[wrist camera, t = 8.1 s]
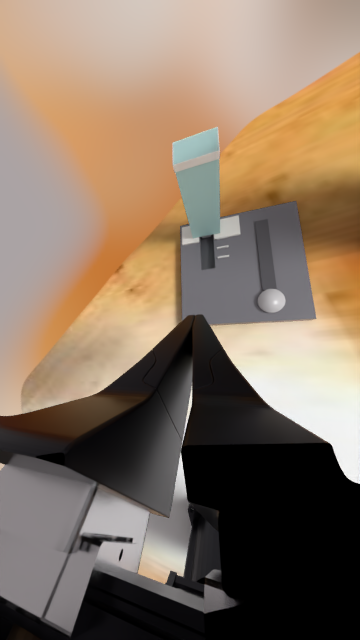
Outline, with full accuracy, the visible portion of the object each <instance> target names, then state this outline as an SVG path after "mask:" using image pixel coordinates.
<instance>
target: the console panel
mask: <svg viewBox="0 0 360 640" xmlns="http://www.w3.org/2000/svg"><path fill="white" fill-rule="evenodd" d="M180 236H181V285H182V321H183V320H184V319H185V318H186V317H187V316H188V315H195V316H196V315H198V314H203V315H204V317H205V319H206V320H207V322H208V324H209V325H226V324H245V323H264V322H284V321H303V320H313V319H316V314H315V308H314V302H313V297H312V291H311V285H310V279H309V273H308V267H307V261H306V256H305V250H304V244H303V238H302V232H301V226H300V220H299V215H298V209H297V203H296V201H293V202H289V203H284V204H279V205H275V206H270V207H266V208H261V209H256V210H252V211H247V212H243V213H238V214H233V215H229V216H224V217H220V233H217V234H212V235H211V237H208V238H202V237H197V238H193V236H192V233H191V229H190V225H189V224H187V225H183V226H180Z"/></svg>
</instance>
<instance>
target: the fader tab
mask: <svg viewBox="0 0 360 640" xmlns="http://www.w3.org/2000/svg"><path fill="white" fill-rule="evenodd" d="M219 159H220V149H219V135H218V127H215V128H212V129H209V130H207V131H204V132H201V133H198V134H196V135H193V136H190V137H187V138H184V139H182V140H179V141H176V142H173V168H174V172H175V173H176V176H177V180H178V184H179V188H180V192H181V195H182V199H183V203H184V207H185V210H186V214H187V218H188V222H189V225H190V229H191V233H192V236H193V238H197V237H202V238H208V237H211V235H212V234H217V233H220V182H219Z"/></svg>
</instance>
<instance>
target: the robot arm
mask: <svg viewBox="0 0 360 640" xmlns="http://www.w3.org/2000/svg"><path fill="white" fill-rule="evenodd" d="M152 350H153V351H152ZM152 350H151V351H150V352H149V353H148V354H147V355H146V356H144V357H143V358H142V359H141V360H140V361H139V362H138V363H136V364H135V365H134V366H133V367H132V368H130V369H129V370H128V371H127V372H125V373H124V374H123V375H122V376H120V377H119V378H118V379H117V380H115V381H114V382H113V383H112V384H110V385H109V386H108V387H106V388H105V389H104V390H102V391H100V392H99V393H97V394H94V395H92V396H89V397H85V398H82V399H78V400H74V401H70V402H67V403H63V404H59V405H55V406H52V407H48V408H44V409H40V410H37V411H33V412H29V413H24V414H19V415H14V416H0V463H2V464H5V466H4V467H3V468H2V470H1V471H0V640H360V484H358V483H355V482H353V481H351V480H349V479H348V478H347V477H346V476H345V475H344V473H343V471H342V470H341V468H340V466H339V464H338V461H337V459H336V456H335V454H334V451H333V447H332V445H331V444H330V443H328V442H326V441H325V440H323V439H322V438H320V437H318V436H317V435H315V434H313V433H312V432H310V431H308V430H307V429H305V428H304V427H302V426H300V425H299V424H297V423H295V422H294V421H292V420H290V419H289V418H287V417H285V416H284V415H282V414H281V413H279V412H277V411H276V410H274V409H273V408H272V407H270V406H269V405H268V404H267V403H266V402H265V401H264V400H263V399H262V398H261V397H260V396H259V395H258V393H257V392H256V391H255V390H254V389H253V387H252V386H251V385H250V384H249V383H248V381H247V380H246V379H245V378H244V377H243V375H242V374H241V373H240V372H239V370H238V369H237V368H236V367H235V365H234V364H233V363H232V361H231V360H230V358H229V357H228V355H227V354H226V352H225V350H224V349H223V347H222V345H221V344H220V342H219V340H218V339H217V337H216V335H215V334H214V332H213V330H212V329H211V327H210V325H209V324H208V322H207V320H206V319H205V317H204V315H203V314H198V315H196V316H195V315H188V316H187V317H186V318H185V319H184V320H183V321H181V322H180V323H179V324H178V325H177V326H176V327H175V328H174V329H173V330H172V331H171V332H170V333H169V334H168V335H167V336H166V337H165V338H164V339H163V340H161V341H160V342H159V343H158V344H157V345H156V346H155V347H154V348H153V349H152ZM191 386H192V391H193V393H192V407H191V411H190V415H189V419H188V423H187V428H186V432H185V436H184V440H183V434H184V428H185V422H186V416H187V410H188V404H189V398H190V392H191ZM182 440H183V444H182ZM181 446H182V448H181ZM180 452H181V455H182V462H183V469H184V476H185V484H186V492H187V500H188V502H189V503H190V504H189V506H188V513H189V517H190V521H191V526H192V528H191V534H190V540H189V546H188V552H187V558H186V564H185V570H184V576H183V577H181V576H178V575H177V573H176V572H173V571H170V574H169V577H168V580H167V583H165V584H163V583H160V582H158V581H155V580H152V579H150V578H147V577H145V576H142V575H139V574H137V573H138V569H139V564H140V559H141V554H142V549H143V544H144V539H145V534H146V530H147V525H148V520H149V515H150V513H152V514H156V515H160V516H164V517H167V518H169V517H170V511H171V506H172V500H173V494H174V488H175V482H176V476H177V470H178V464H179V458H180ZM191 508H193V509H194V510H192V509H191Z"/></svg>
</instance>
